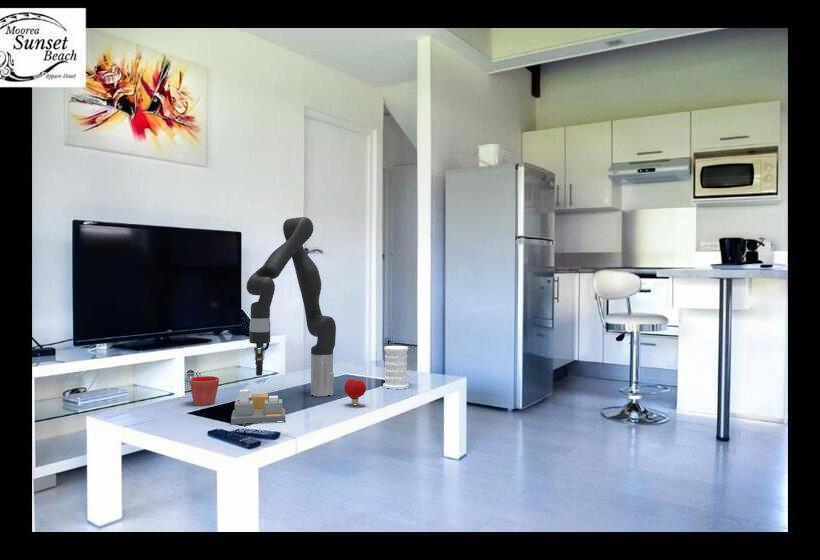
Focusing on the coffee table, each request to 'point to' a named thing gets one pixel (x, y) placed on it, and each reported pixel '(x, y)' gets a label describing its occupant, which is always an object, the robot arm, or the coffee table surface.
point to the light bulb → (355, 389)
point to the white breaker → (273, 399)
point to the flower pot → (204, 389)
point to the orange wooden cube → (259, 400)
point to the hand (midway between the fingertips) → (259, 373)
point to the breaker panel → (258, 413)
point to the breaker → (244, 396)
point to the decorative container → (396, 367)
